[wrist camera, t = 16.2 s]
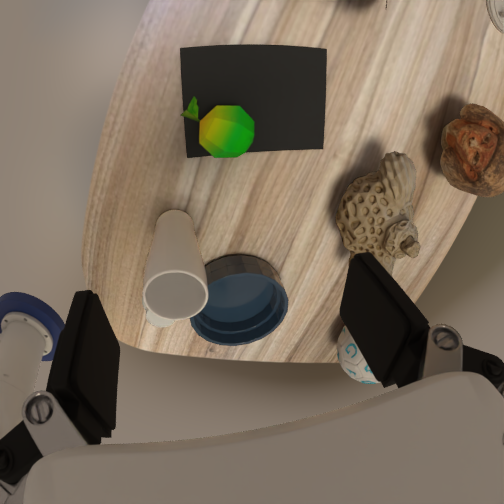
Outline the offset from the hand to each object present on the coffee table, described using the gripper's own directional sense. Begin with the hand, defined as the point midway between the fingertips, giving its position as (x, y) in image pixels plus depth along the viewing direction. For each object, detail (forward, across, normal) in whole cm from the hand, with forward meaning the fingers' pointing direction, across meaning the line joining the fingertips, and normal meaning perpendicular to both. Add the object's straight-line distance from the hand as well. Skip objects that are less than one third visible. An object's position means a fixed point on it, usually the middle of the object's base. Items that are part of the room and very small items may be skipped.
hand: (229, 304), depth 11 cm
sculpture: (+31, -42, 0) cm, 52 cm away
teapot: (+31, -24, +12) cm, 41 cm away
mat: (+30, -8, -4) cm, 32 cm away
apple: (+30, -3, -1) cm, 30 cm away
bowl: (+30, -4, +26) cm, 40 cm away
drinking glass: (+31, +4, +12) cm, 33 cm away
